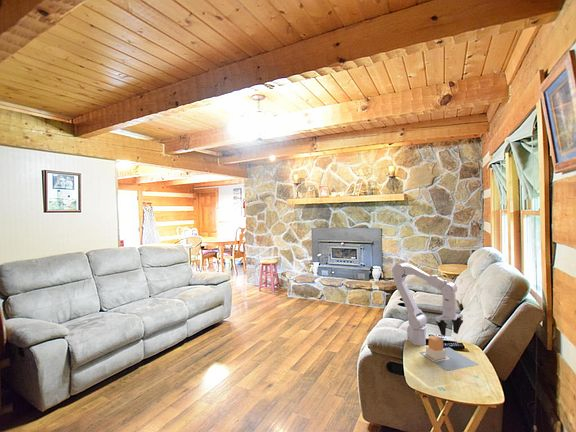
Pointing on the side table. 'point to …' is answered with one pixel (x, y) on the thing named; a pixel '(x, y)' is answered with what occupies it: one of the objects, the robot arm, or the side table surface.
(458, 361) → the board
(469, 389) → the side table surface
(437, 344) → the orange block
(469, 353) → the side table surface
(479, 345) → the side table surface
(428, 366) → the side table surface
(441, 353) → the base block
